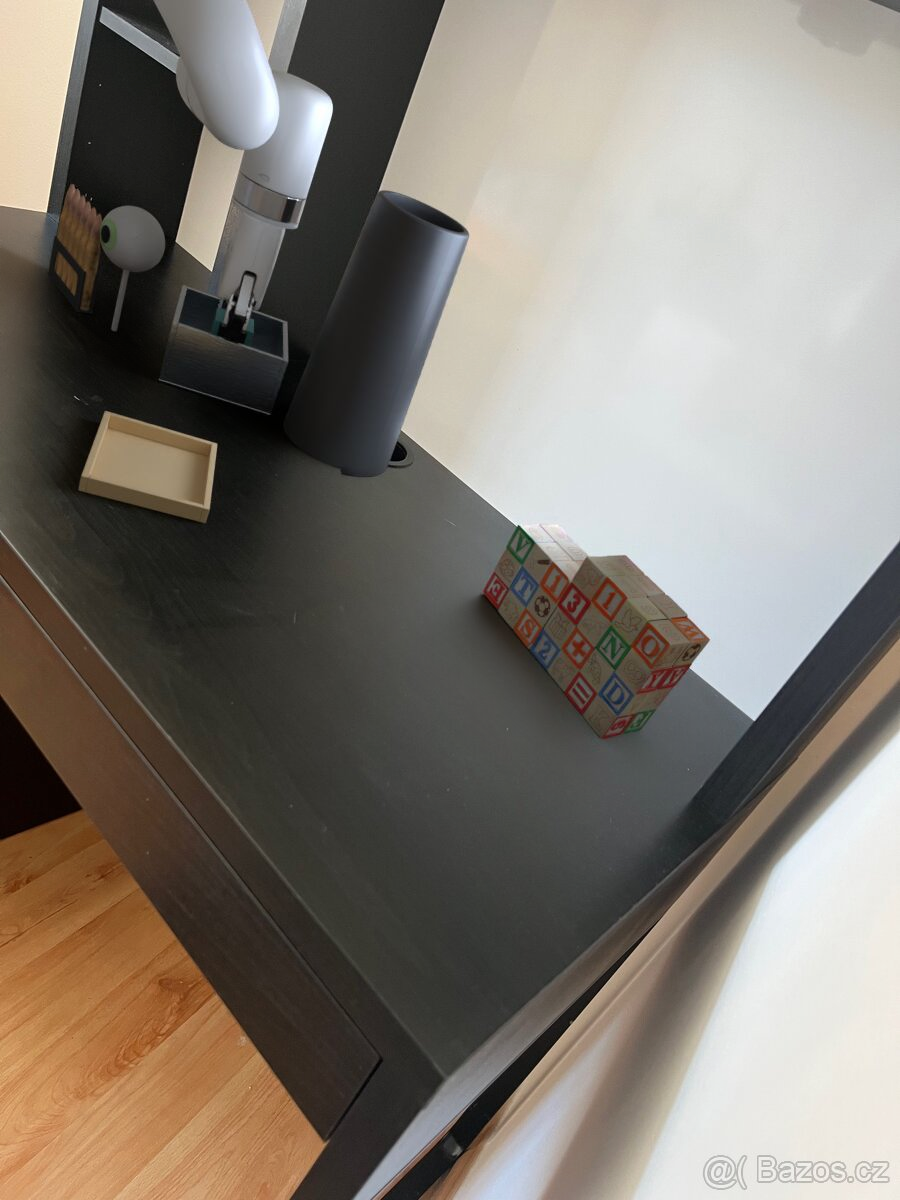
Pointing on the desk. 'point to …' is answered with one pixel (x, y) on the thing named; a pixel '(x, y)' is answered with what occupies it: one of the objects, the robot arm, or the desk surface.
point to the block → (219, 319)
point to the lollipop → (131, 245)
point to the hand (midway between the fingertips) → (226, 349)
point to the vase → (376, 336)
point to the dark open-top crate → (224, 356)
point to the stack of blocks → (594, 626)
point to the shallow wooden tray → (150, 467)
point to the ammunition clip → (77, 252)
